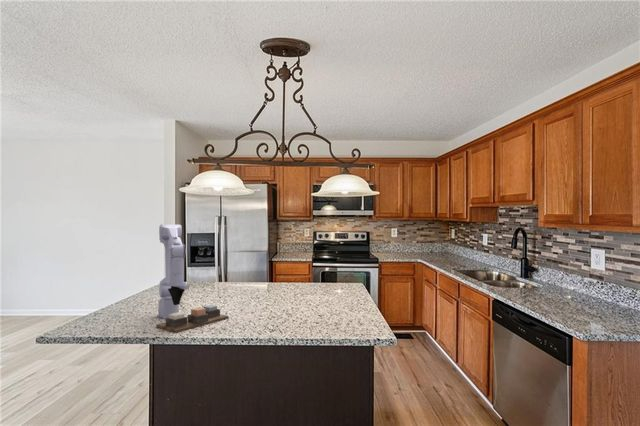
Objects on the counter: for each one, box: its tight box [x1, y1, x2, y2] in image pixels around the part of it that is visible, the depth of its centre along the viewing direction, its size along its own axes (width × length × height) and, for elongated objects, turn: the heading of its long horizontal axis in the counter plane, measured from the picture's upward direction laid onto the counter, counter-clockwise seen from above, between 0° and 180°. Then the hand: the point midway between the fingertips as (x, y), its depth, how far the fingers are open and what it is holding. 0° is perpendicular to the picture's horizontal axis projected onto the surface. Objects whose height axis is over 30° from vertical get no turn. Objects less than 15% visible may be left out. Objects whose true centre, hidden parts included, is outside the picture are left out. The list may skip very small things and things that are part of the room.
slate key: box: [203, 304, 218, 311], centre depth 179 cm, size 4×4×4 cm
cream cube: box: [169, 312, 185, 320], centre depth 164 cm, size 4×4×4 cm
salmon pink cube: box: [190, 307, 206, 317], centre depth 170 cm, size 4×4×4 cm
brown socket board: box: [155, 308, 230, 334], centre depth 172 cm, size 14×28×4 cm, turn 145°
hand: (176, 304), depth 165 cm, fingers closed
